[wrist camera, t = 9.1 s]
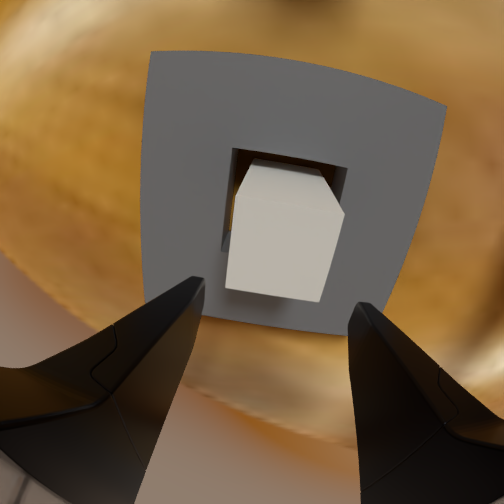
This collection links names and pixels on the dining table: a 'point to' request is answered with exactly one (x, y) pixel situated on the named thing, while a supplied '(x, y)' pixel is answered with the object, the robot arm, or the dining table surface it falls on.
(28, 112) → the dining table surface
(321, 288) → the plug peg
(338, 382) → the dining table surface
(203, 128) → the socket block
